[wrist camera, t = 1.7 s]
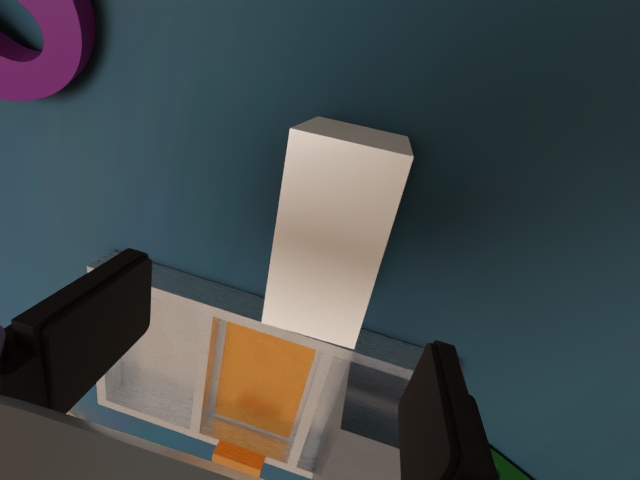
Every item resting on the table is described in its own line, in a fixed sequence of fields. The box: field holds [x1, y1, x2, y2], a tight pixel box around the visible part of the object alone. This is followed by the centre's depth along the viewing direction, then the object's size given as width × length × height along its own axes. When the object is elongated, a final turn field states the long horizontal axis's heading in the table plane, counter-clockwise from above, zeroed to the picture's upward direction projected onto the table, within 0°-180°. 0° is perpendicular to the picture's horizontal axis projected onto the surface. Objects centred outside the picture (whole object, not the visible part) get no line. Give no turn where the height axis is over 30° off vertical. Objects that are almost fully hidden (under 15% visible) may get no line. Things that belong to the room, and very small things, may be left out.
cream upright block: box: [261, 116, 414, 349], centre depth 18 cm, size 10×5×6 cm, turn 169°
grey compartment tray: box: [87, 250, 467, 480], centre depth 25 cm, size 26×14×6 cm, turn 76°
